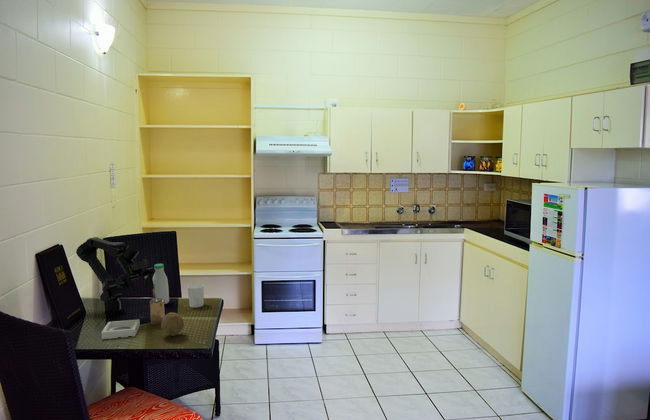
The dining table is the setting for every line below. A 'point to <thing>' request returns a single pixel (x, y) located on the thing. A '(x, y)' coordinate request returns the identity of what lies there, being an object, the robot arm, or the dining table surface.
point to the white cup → (196, 295)
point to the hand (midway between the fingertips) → (145, 291)
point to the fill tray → (120, 329)
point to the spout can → (157, 311)
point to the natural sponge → (172, 323)
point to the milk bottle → (160, 283)
